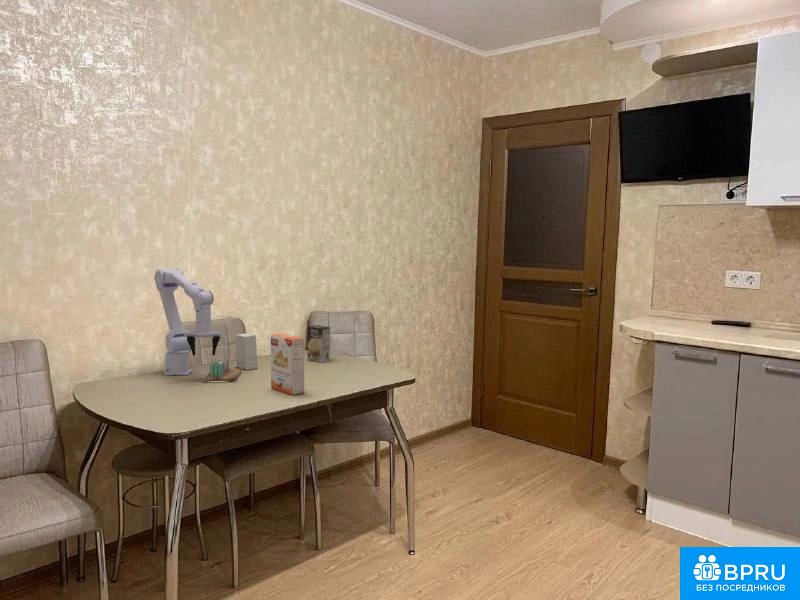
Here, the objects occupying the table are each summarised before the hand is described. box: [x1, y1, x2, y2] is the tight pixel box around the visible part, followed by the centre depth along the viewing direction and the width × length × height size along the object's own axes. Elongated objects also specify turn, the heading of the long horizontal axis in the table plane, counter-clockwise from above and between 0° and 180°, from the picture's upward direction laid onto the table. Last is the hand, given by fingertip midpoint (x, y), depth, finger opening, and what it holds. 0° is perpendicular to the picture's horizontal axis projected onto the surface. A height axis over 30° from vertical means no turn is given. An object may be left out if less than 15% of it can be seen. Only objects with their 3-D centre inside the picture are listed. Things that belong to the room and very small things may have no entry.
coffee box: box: [306, 324, 331, 364], centre depth 291 cm, size 9×6×16 cm
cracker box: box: [270, 333, 305, 396], centre depth 234 cm, size 14×6×21 cm, turn 45°
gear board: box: [203, 368, 243, 383], centre depth 255 cm, size 12×18×4 cm, turn 7°
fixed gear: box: [212, 358, 230, 372], centre depth 260 cm, size 6×6×5 cm
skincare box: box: [235, 333, 258, 371], centre depth 273 cm, size 8×6×15 cm
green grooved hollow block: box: [209, 361, 224, 377], centre depth 251 cm, size 4×6×5 cm
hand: (203, 355), depth 250 cm, fingers open, 7 cm apart
